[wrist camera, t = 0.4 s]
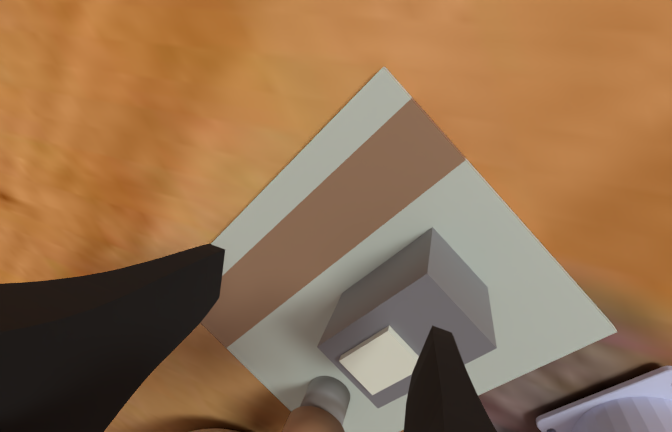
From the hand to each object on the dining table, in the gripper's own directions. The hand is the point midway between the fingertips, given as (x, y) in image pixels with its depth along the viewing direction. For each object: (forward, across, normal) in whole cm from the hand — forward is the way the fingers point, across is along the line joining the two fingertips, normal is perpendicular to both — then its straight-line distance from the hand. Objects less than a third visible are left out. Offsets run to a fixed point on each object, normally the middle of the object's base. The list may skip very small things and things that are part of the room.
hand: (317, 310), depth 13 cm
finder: (+10, -3, +4) cm, 11 cm away
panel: (+10, -1, +6) cm, 12 cm away
